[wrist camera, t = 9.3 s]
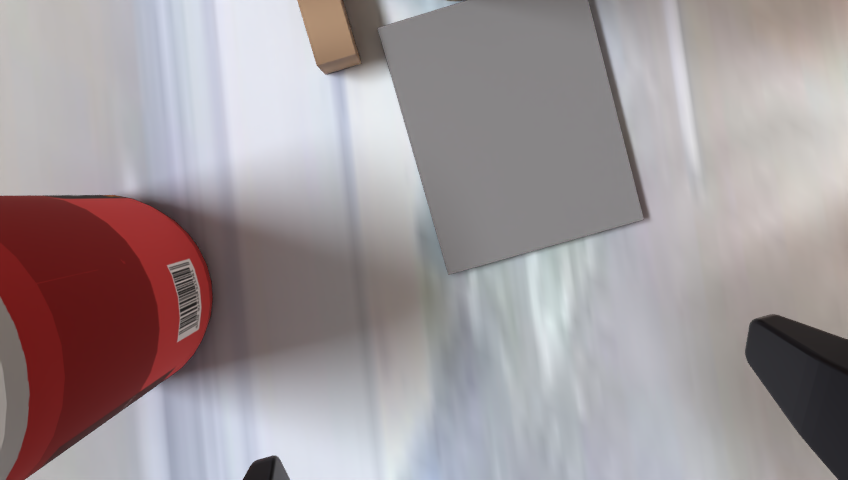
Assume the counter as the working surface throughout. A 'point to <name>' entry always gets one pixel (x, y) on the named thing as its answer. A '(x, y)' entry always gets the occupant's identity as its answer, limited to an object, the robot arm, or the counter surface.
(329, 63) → the walnut frame
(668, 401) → the counter surface
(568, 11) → the slate mat
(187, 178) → the counter surface
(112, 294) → the canned food
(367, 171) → the counter surface
